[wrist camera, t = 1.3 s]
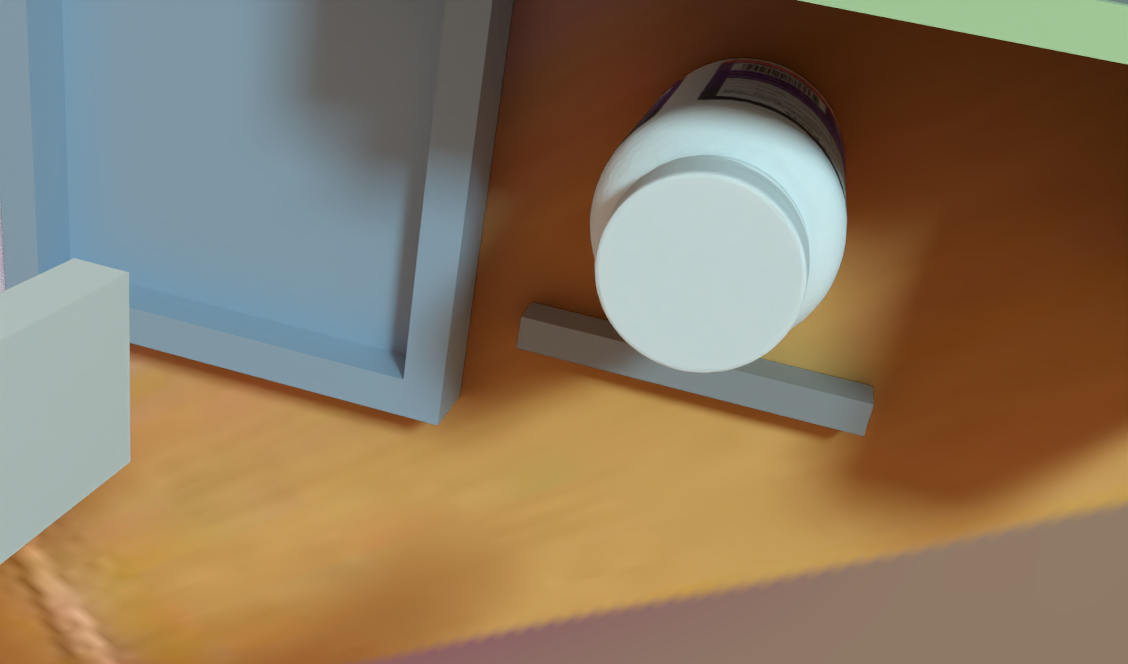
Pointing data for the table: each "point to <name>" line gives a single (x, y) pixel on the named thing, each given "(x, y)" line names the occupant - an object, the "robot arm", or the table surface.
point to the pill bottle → (721, 216)
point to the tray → (263, 178)
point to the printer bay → (960, 3)
